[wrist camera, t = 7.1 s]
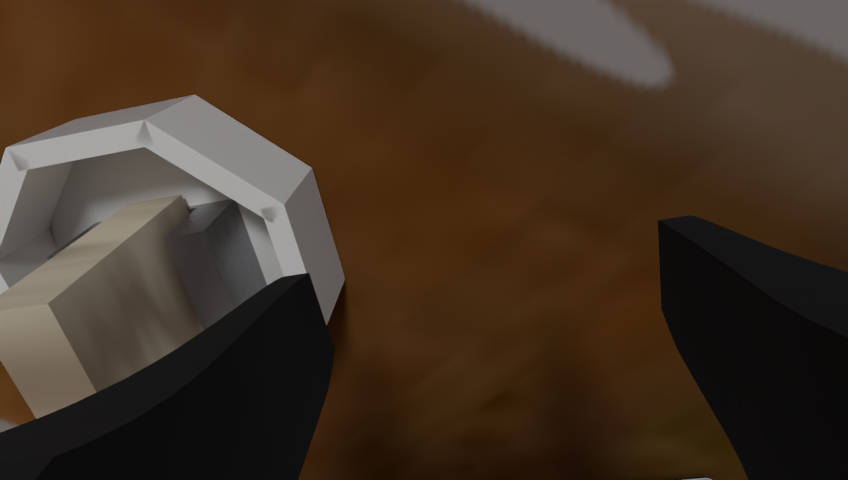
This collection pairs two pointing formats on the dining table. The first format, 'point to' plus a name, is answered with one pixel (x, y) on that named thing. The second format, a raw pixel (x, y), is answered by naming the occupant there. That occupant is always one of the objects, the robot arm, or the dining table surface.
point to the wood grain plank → (98, 309)
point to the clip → (212, 259)
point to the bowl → (163, 187)
